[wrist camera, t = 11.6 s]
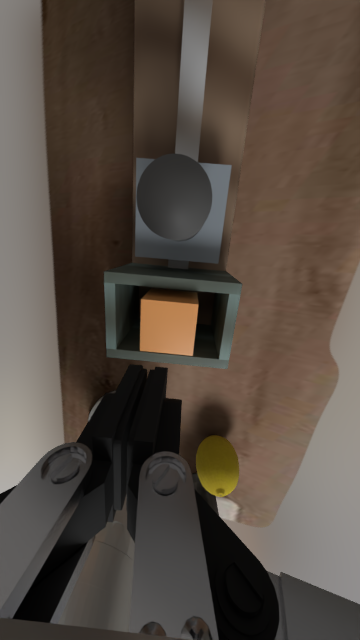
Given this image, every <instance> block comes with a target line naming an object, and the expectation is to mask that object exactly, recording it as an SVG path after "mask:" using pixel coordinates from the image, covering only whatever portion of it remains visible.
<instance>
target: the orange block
mask: <svg viewBox="0 0 360 640" xmlns="http://www.w3.org/2000/svg"><path fill="white" fill-rule="evenodd" d="M198 305H199V304H198V295H197V292H186V291H175V290H164V289H153V288H151V289H150V290H149V291H148V292H147V293H146V294H145V295H144V297H143V298H142V299H141V322H140V351H148V352H158V353H168V354H179V355H189V356H193V349H194V340H195V331H196V323H197V314H198Z"/></svg>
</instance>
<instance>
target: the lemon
mask: <svg viewBox="0 0 360 640" xmlns="http://www.w3.org/2000/svg"><path fill="white" fill-rule="evenodd" d="M196 468H197V473H198V477H199V479H200V482H201V484H202V486H203V487H204V488H205V489H206V490H207V491H208V492H209V493H211V494H213V495H215V496H219V497H223V496H225V495H228V494H230V493H231V492H232V491H233V490H234V488H235V487H236V485H237V482H238V478H239V463H238V457H237V454H236V452H235V450H234V448H233V446H232V445H231V443H230V442H229V441H228V440H227V439H225V438H224V437H221V436H218V435H212V436H209V437H207V438H205V439H204V440H203V441H202V442H201V444H200V445H199V447H198V450H197V454H196Z"/></svg>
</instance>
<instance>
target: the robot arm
mask: <svg viewBox="0 0 360 640" xmlns="http://www.w3.org/2000/svg"><path fill="white" fill-rule="evenodd" d="M167 371H168V368H163V367H155V370H150V372H149V375H148V378H147V369H143V366H142V365H131V364H130V365H129V367H128V369H127V371H126V373H125V375H124V377H123V379H122V380H121V382H120V384H119V386H118V388H117V390H116V391H113V392H110V393H105V395H104V396H102V397H101V398H100V399H99V400H98V401H97V402H96V404H95V405H94V407H93V408H92V410H91V412H90V414H89V419H88V423H87V425H86V427H85V428H84V430H83V432H82V433H81V435H80V437H79V438H78V440H77V442H72V443H65V444H63V445H60V446H57V447H55V448H54V449H52V450H51V451H49V452H48V453H47V454H45V455H44V456H43V457H42V458H41V459H40V461H39V462H38V463H37V464H36V465H35V466H34V467H33V468H32V469H31V470H30V472H29V473H28V474H27V475H26V476H25V477H24V478H23V480H22V481H21V482H20V483H19V484H18V485H16V486H14V487H13V488H11V489H9V490H7V491H5V492H3V493H1V494H0V640H360V604H358V603H355V602H353V601H350V600H348V599H345V598H343V597H341V596H338V595H336V594H333V593H331V592H329V591H326V590H324V589H321V588H319V587H316V586H314V585H311V584H309V583H307V582H304V581H302V580H300V579H297V578H294V577H292V576H290V575H287V574H285V573H283V572H281V573H280V576H278V575H275V574H273V573H271V572H268V571H266V570H265V568H264V567H263V565H262V564H261V563H260V561H259V560H258V559H257V558H256V557H255V556H254V555H253V553H252V552H251V551H250V550H249V549H248V548H247V547H246V546H245V544H244V543H243V542H242V541H241V540H240V539H239V538H238V537H237V536H236V534H235V533H234V532H233V531H232V530H231V529H230V528H229V527H228V526H227V524H226V523H225V522H224V521H223V520H222V519H221V518H220V517H219V515H218V514H217V513H216V512H215V511H214V510H213V509H212V508H211V507H210V505H209V504H208V503H207V502H206V501H205V500H204V499H203V498H202V496H201V495H200V494H199V493H198V492H197V491H196V490H195V489H194V485H193V478H192V473H191V470H190V467H189V465H188V463H187V462H186V460H185V459H184V458H182V457H181V456H180V455H179V445H180V425H181V405H182V400H179V399H168V398H166V385H167Z"/></svg>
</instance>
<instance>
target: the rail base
mask: <svg viewBox="0 0 360 640" xmlns="http://www.w3.org/2000/svg"><path fill="white" fill-rule="evenodd" d="M265 3H266V0H135V21H134V127H133V233H132V263H130V264H127V265H123V266H120V267H117V268H114V269H110V270H107V271H104V292H105V322H106V353H107V357H110V358H121V359H131V360H141V361H151V362H161V363H172V364H182V365H192V366H202V367H212V368H223V369H227V368H228V362H229V356H230V351H231V345H232V339H233V334H234V328H235V322H236V317H237V311H238V305H239V300H240V294H241V288H242V283H240V282H239V281H238V280H237V279H235V278H234V277H233V276H231V275H230V274H229V273H228V272H226V266H227V259H228V252H229V246H230V239H231V232H232V225H233V219H234V212H235V205H236V198H237V192H238V185H239V178H240V171H241V165H242V158H243V151H244V144H245V138H246V131H247V124H248V117H249V111H250V104H251V97H252V90H253V84H254V77H255V70H256V63H257V57H258V50H259V43H260V36H261V30H262V23H263V16H264V9H265ZM166 154H183V155H186V156H188V157H190V158H192V159H194V160H195V161H197V162H198V163H210V164H222V165H232V166H231V174H230V181H229V188H228V196H227V203H226V210H225V218H224V225H223V233H222V240H221V247H220V255H219V262H218V264H215V263H204V262H193V261H181V260H170V259H159V258H147V257H136V256H135V224H136V158H146V159H157V158H159V157H161V156H163V155H166ZM151 288H153V289H164V290H175V291H186V292H197V295H198V304H199V305H198V314H197V323H196V331H195V340H194V349H193V356H189V355H179V354H168V353H158V352H148V351H140V322H141V299H142V298H143V297H144V295H145V294H146V293H147V292H148V291H149V290H150V289H151Z"/></svg>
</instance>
